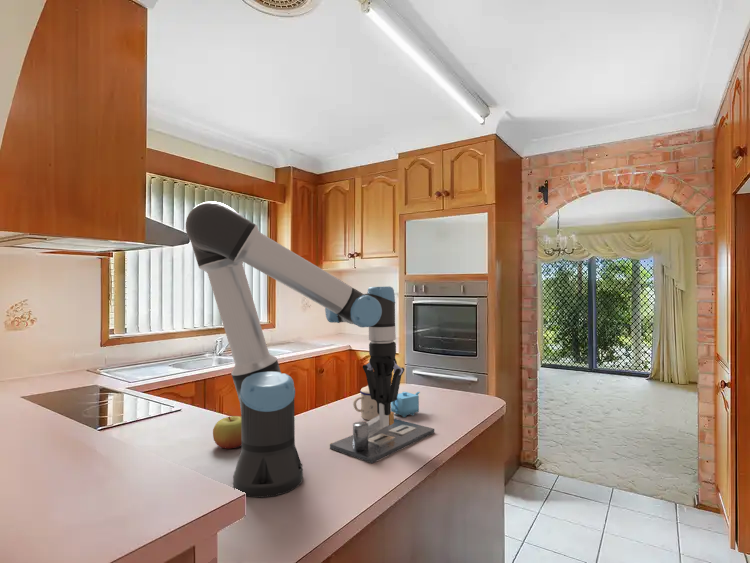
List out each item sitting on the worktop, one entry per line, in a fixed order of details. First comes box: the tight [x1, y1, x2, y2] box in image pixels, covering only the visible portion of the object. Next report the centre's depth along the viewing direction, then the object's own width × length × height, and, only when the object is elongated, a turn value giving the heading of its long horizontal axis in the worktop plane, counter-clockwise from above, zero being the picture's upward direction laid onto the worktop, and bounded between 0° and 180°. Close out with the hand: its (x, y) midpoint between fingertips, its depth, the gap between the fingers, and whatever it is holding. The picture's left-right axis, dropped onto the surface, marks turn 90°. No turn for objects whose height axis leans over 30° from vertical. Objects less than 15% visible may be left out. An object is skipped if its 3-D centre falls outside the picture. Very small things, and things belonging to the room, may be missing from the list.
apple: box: [212, 415, 242, 450], centre depth 118 cm, size 10×10×8 cm
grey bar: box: [352, 412, 395, 450], centre depth 118 cm, size 18×4×6 cm, turn 151°
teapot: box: [391, 391, 421, 418], centre depth 145 cm, size 12×6×8 cm, turn 125°
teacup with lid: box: [352, 385, 379, 421], centre depth 141 cm, size 12×9×12 cm
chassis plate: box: [329, 418, 435, 464], centre depth 120 cm, size 28×15×2 cm, turn 139°
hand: (384, 425), depth 119 cm, fingers closed
